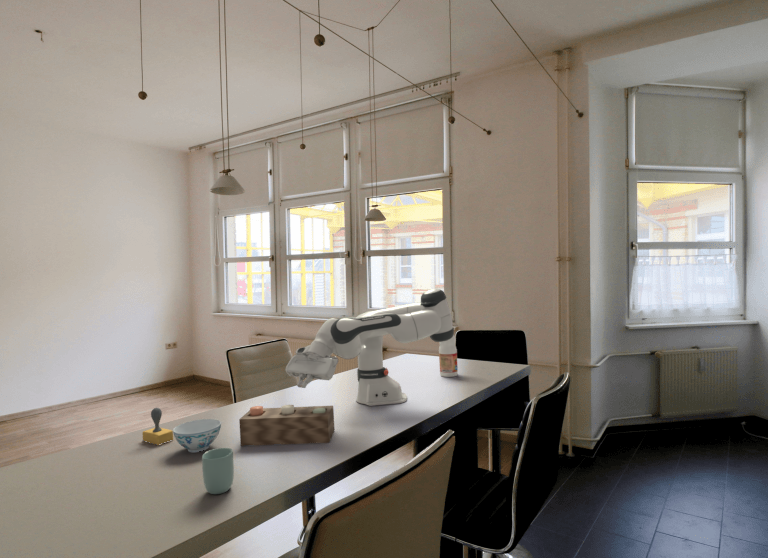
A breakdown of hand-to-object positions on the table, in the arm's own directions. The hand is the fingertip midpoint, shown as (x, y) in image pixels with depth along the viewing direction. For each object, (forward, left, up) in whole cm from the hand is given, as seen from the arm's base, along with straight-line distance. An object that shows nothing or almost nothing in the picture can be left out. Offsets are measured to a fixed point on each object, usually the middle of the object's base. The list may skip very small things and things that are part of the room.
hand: (300, 386), depth 161 cm
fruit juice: (-60, -83, -17) cm, 104 cm away
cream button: (+4, +3, -9) cm, 11 cm away
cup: (+13, +41, -17) cm, 47 cm away
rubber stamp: (+52, +1, -17) cm, 55 cm away
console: (+4, +3, -17) cm, 18 cm away
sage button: (-7, +3, -11) cm, 13 cm away
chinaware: (+33, +10, -17) cm, 39 cm away
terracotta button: (+15, +3, -9) cm, 18 cm away
